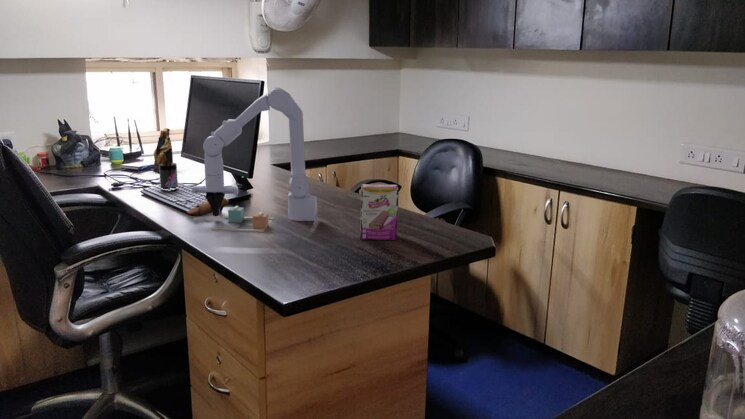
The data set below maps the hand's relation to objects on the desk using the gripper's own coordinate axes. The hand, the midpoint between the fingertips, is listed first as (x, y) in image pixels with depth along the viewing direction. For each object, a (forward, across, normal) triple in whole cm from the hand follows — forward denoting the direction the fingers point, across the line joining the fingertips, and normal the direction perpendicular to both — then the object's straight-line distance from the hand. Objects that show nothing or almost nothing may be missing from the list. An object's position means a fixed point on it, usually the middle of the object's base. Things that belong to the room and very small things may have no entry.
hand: (216, 215), depth 199 cm
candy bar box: (+3, -53, +10) cm, 54 cm away
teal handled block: (+2, -6, 0) cm, 7 cm away
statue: (+3, +50, -84) cm, 98 cm away
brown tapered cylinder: (+4, +9, -15) cm, 18 cm away
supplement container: (+3, +34, -48) cm, 59 cm away
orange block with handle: (+2, -16, +6) cm, 17 cm away
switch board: (+3, -10, +4) cm, 11 cm away
